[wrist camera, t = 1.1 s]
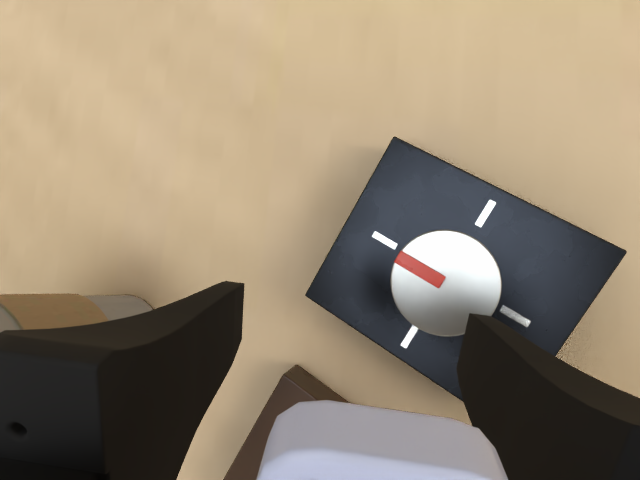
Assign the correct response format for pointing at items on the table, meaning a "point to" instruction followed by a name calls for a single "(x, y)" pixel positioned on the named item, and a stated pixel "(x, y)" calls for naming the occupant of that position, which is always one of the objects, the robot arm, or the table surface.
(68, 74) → the table surface
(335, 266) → the panel
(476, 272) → the dial
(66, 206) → the table surface
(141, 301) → the coffee cup
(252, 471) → the button box
